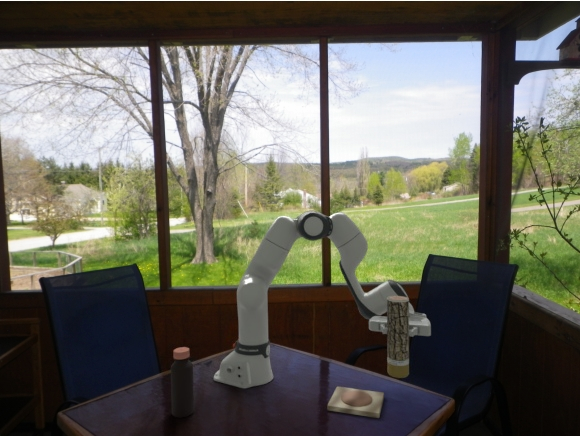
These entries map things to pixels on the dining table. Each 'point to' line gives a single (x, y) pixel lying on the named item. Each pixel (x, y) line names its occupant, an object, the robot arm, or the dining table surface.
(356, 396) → the holder board
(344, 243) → the robot arm
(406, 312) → the bark print tube
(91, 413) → the dining table surface
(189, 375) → the bottle
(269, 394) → the dining table surface
